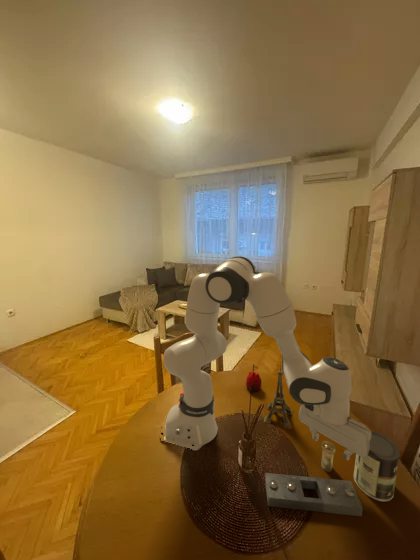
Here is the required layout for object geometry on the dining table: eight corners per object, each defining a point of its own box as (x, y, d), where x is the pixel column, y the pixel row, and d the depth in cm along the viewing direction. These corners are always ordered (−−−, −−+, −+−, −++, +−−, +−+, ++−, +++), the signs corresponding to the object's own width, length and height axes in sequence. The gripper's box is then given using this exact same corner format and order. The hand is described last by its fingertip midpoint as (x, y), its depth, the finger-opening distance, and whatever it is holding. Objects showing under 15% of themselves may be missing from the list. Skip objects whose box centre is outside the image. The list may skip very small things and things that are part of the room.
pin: (322, 472, 76) (324, 451, 75) (318, 460, 80) (319, 440, 78) (335, 473, 76) (337, 452, 74) (330, 461, 79) (332, 441, 78)
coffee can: (391, 477, 74) (397, 438, 71) (395, 509, 65) (402, 467, 63) (353, 461, 79) (357, 425, 77) (352, 489, 71) (357, 449, 68)
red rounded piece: (262, 386, 119) (262, 358, 116) (260, 394, 113) (260, 366, 110) (247, 383, 122) (247, 356, 119) (244, 391, 116) (244, 363, 113)
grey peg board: (268, 505, 67) (268, 495, 66) (265, 480, 74) (265, 471, 73) (361, 516, 64) (363, 505, 63) (349, 489, 71) (351, 479, 70)
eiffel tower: (291, 429, 93) (293, 371, 88) (263, 422, 97) (265, 366, 92) (292, 410, 103) (295, 357, 98) (267, 404, 106) (269, 353, 102)
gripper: (375, 422, 67) (371, 463, 70) (306, 390, 83) (304, 425, 85) (368, 435, 63) (364, 478, 66) (296, 398, 78) (295, 435, 81)
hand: (330, 448), depth 76 cm, fingers open, 8 cm apart
